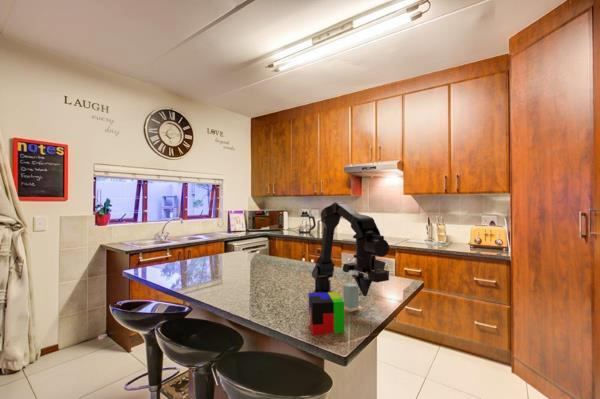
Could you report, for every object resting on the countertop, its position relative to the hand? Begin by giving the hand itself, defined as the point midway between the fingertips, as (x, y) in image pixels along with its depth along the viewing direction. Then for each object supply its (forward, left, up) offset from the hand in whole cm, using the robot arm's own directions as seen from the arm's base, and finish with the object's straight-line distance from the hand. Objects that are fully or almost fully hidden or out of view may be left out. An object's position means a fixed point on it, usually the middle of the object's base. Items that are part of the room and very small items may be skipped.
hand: (364, 295), depth 102 cm
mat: (-9, +9, -8) cm, 15 cm away
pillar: (-6, +6, -7) cm, 11 cm away
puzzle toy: (-12, -12, -8) cm, 19 cm away
